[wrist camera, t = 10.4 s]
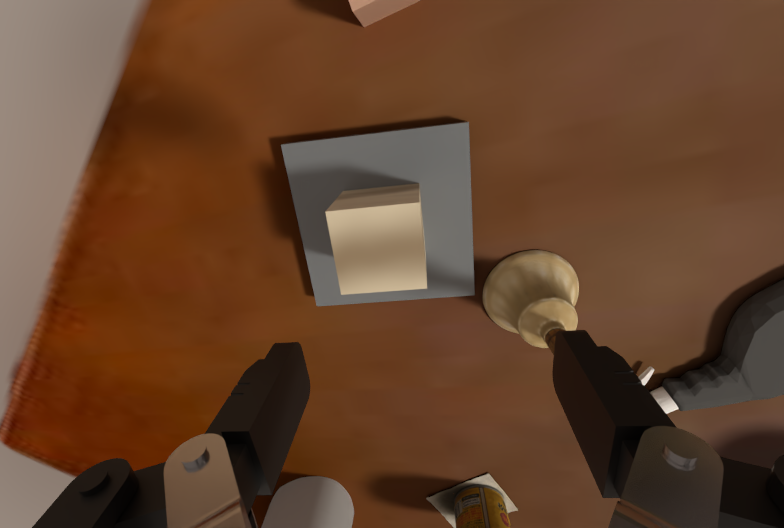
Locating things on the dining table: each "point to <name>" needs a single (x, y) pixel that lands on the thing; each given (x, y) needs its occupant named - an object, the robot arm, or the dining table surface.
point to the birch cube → (378, 239)
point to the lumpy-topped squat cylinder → (310, 505)
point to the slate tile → (381, 169)
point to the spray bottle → (735, 360)
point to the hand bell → (533, 296)
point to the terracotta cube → (377, 9)
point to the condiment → (475, 504)
